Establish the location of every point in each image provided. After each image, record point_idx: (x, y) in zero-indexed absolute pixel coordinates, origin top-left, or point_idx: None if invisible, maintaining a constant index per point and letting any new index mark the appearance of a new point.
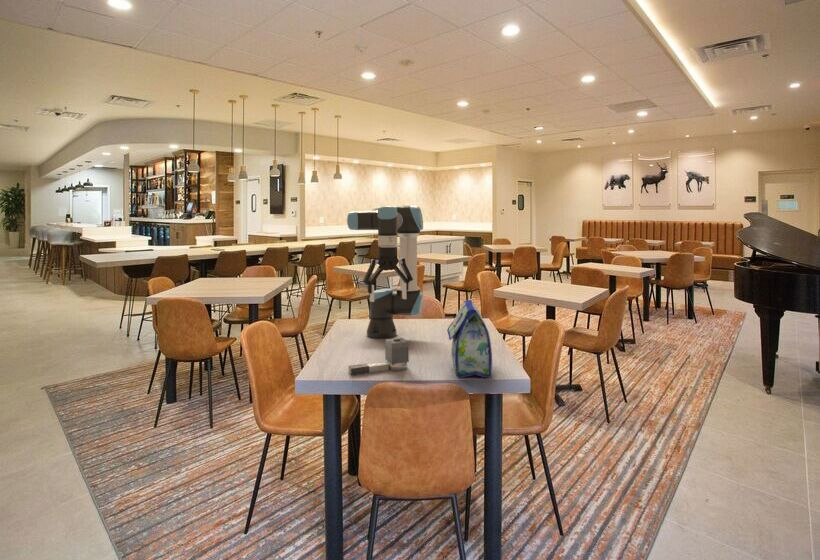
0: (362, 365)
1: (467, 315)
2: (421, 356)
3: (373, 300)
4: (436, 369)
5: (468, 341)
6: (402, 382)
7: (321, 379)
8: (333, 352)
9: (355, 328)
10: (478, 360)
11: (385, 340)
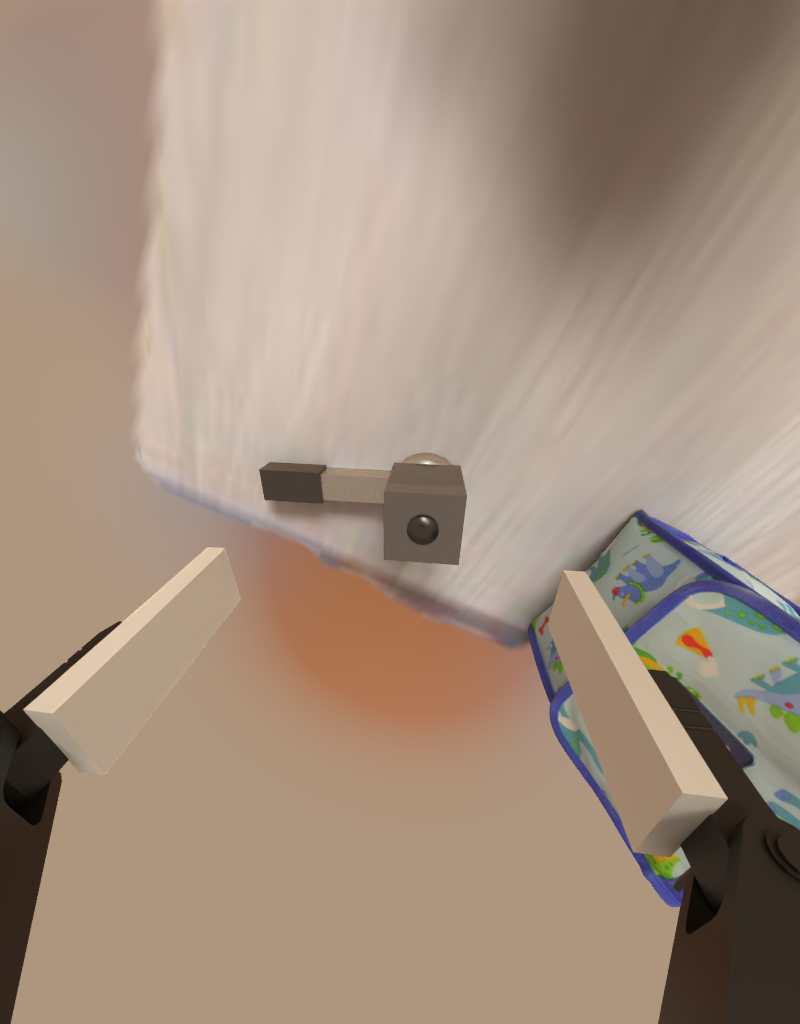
0: (303, 487)
1: (637, 855)
2: (587, 388)
3: (226, 608)
4: (529, 546)
5: None
6: (389, 590)
7: (191, 486)
8: (229, 96)
9: None
10: None
11: (384, 491)
